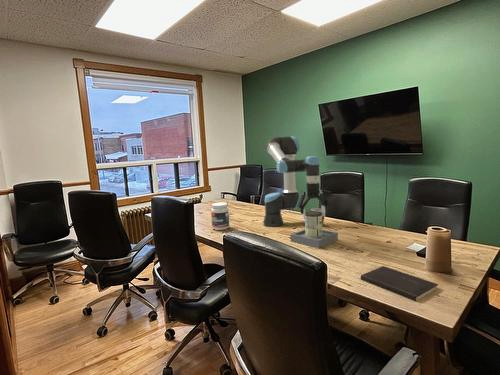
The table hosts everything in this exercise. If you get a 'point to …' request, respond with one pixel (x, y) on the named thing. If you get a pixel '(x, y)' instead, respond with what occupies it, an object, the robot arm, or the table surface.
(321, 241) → the grey square tray
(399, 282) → the hardcover book
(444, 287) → the table surface
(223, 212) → the supplement tub
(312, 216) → the coffee can
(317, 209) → the plastic cup
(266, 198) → the robot arm
